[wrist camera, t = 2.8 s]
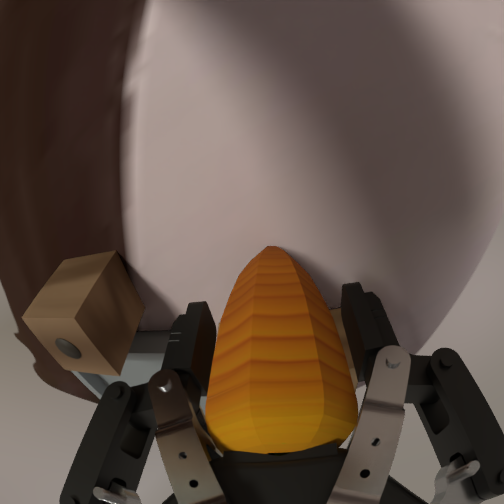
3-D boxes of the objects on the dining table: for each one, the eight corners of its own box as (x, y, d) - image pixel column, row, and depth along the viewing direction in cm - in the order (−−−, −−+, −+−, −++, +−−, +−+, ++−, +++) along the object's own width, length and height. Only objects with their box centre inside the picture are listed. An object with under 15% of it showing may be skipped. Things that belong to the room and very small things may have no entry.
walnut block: (64, 259, 17) (21, 318, 12) (116, 249, 16) (73, 319, 11) (94, 310, 20) (64, 370, 15) (145, 307, 19) (119, 377, 14)
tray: (59, 331, 22) (50, 347, 20) (187, 329, 20) (182, 353, 18) (124, 402, 29) (120, 417, 27) (230, 408, 28) (229, 425, 26)
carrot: (329, 229, 15) (417, 539, 3) (291, 292, 18) (313, 548, 5) (245, 197, 14) (218, 584, 2) (216, 269, 17) (176, 550, 4)
